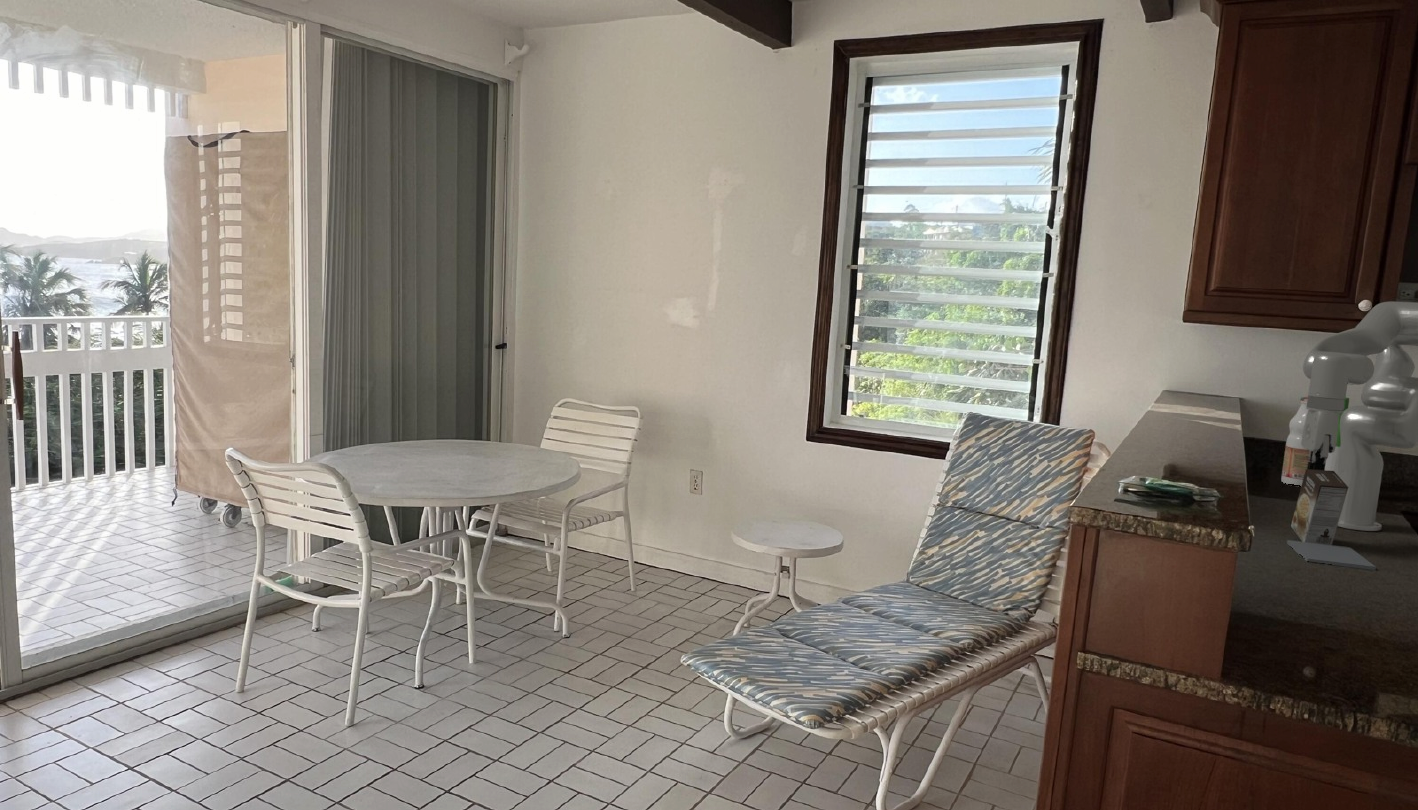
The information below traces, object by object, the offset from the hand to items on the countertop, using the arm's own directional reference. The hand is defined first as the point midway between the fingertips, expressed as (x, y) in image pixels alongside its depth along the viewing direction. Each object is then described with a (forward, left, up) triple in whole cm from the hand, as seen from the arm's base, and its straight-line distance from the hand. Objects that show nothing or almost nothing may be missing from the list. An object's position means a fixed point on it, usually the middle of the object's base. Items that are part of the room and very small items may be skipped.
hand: (1314, 478), depth 222 cm
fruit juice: (-77, +18, -15) cm, 80 cm away
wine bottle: (-64, +23, -15) cm, 69 cm away
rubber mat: (+16, 0, -15) cm, 22 cm away
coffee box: (+2, 0, -14) cm, 14 cm away
